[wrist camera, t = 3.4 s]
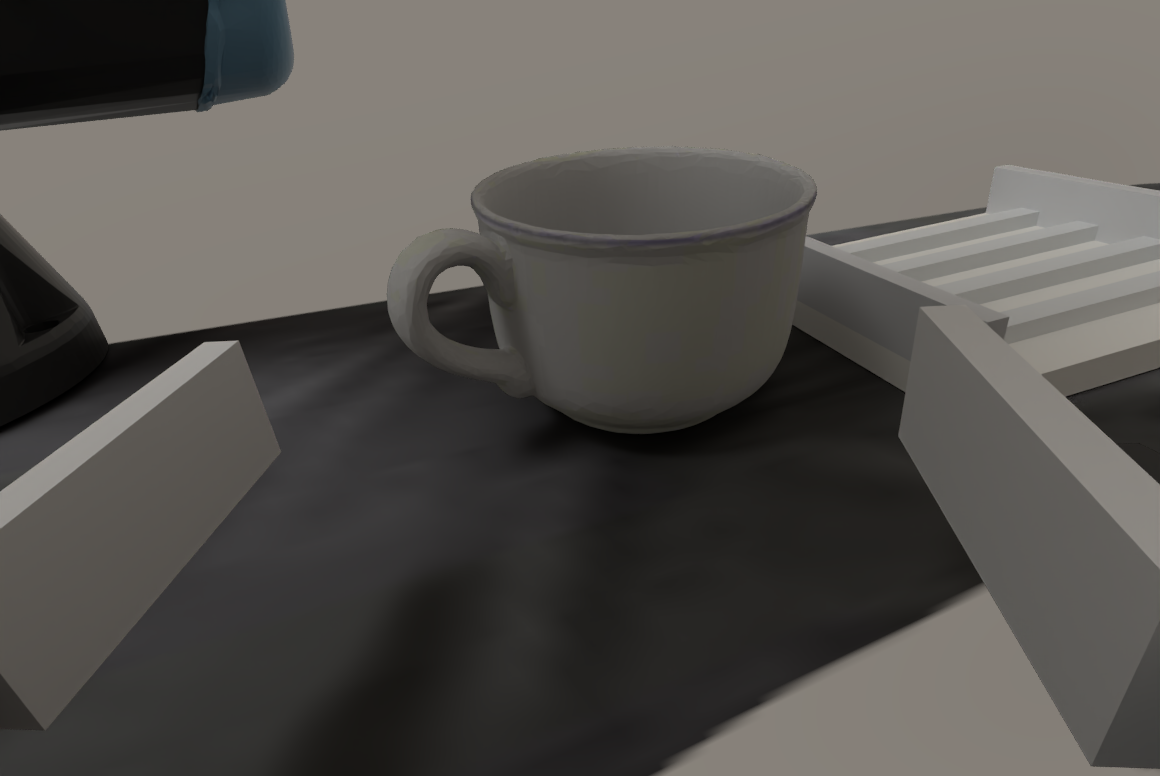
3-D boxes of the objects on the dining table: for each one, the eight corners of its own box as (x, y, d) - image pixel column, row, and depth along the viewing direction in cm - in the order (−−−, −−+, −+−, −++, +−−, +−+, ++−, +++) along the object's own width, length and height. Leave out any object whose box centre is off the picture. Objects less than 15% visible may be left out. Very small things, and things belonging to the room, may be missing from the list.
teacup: (696, 311, 31) (694, 129, 27) (869, 416, 22) (904, 167, 18) (397, 390, 27) (344, 190, 23) (461, 560, 18) (392, 277, 14)
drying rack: (963, 427, 21) (987, 322, 19) (734, 290, 33) (736, 217, 31) (1311, 320, 25) (1357, 225, 23) (993, 232, 36) (1007, 164, 35)
